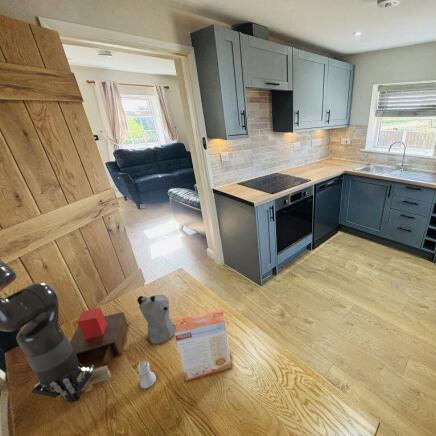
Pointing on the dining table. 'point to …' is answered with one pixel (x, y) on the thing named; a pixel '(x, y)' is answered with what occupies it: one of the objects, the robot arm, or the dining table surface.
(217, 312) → the cracker box
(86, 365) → the drawer
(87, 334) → the block
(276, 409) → the dining table surface
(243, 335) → the dining table surface
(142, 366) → the rook chess piece
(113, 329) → the cabinet
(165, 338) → the grey upright piece
